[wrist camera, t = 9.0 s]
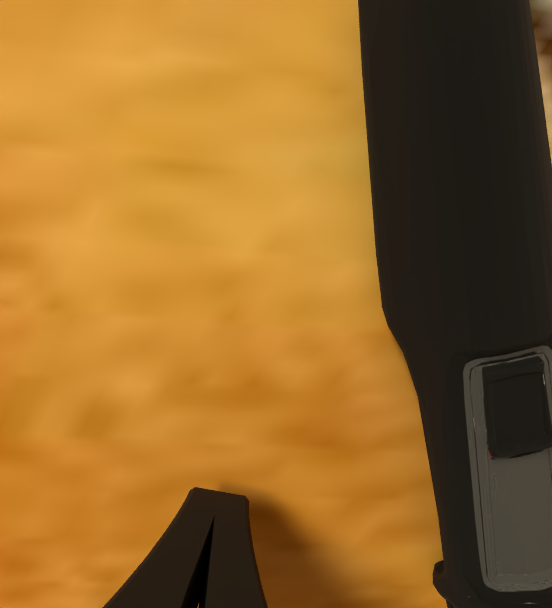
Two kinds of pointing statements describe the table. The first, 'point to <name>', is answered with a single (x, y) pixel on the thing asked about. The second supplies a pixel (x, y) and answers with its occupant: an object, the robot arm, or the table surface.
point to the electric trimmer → (469, 275)
